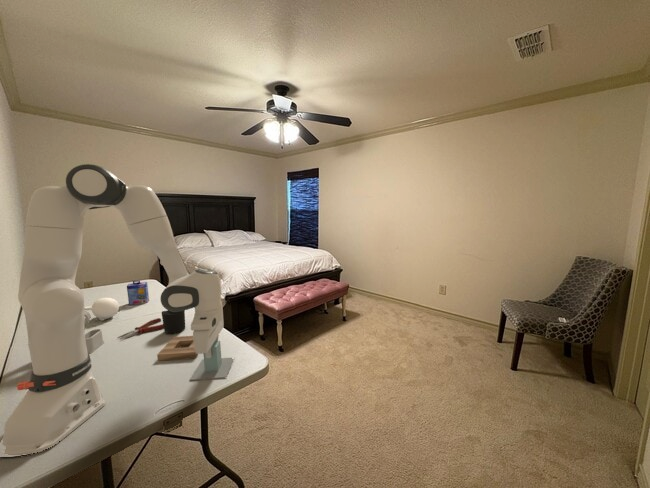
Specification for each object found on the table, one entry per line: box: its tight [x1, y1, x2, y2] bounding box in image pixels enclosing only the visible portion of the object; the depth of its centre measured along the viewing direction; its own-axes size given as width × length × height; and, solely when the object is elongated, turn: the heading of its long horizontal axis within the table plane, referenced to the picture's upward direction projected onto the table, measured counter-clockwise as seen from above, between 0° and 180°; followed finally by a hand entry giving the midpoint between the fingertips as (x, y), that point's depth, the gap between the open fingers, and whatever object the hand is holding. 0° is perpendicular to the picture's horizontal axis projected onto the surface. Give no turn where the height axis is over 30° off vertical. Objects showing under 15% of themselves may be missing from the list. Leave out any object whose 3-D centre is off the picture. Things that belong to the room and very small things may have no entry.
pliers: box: [117, 317, 164, 340], centre depth 126 cm, size 12×20×3 cm, turn 148°
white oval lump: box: [84, 297, 120, 321], centre depth 142 cm, size 12×12×15 cm
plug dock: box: [156, 335, 199, 362], centre depth 108 cm, size 14×14×2 cm
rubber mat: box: [189, 357, 234, 382], centre depth 95 cm, size 12×12×1 cm
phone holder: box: [84, 310, 105, 355], centre depth 108 cm, size 17×10×18 cm, turn 102°
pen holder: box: [161, 310, 186, 335], centre depth 126 cm, size 9×9×10 cm
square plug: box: [202, 340, 222, 372], centre depth 95 cm, size 4×4×9 cm
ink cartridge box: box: [126, 280, 150, 306], centre depth 164 cm, size 10×6×14 cm, turn 115°
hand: (212, 351), depth 95 cm, fingers open, 5 cm apart
